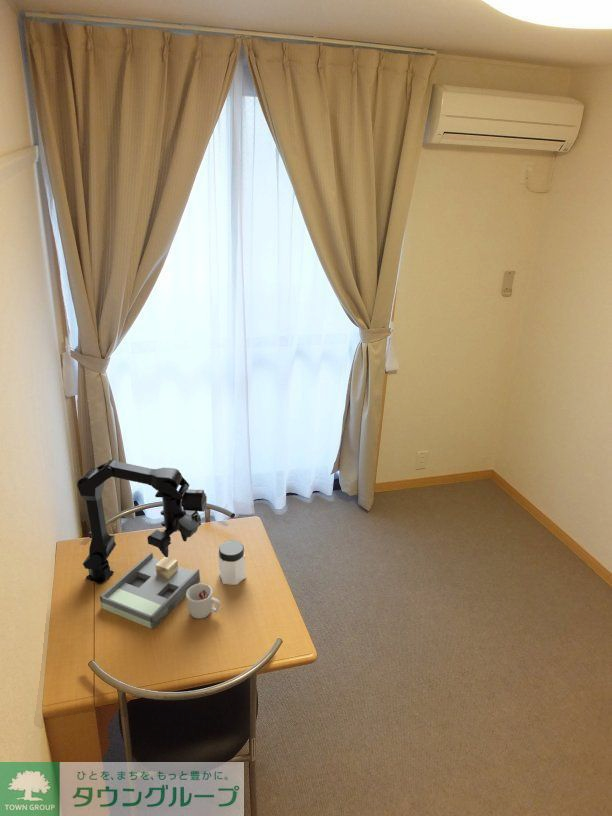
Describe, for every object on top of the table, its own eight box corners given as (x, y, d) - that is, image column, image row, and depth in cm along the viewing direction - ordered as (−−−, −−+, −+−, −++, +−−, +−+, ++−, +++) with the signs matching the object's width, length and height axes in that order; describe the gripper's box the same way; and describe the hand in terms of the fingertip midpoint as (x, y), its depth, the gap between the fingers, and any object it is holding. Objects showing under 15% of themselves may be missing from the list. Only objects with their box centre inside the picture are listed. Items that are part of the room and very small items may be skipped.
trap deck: (101, 608, 169) (99, 596, 167) (151, 562, 189) (150, 552, 188) (153, 629, 162) (151, 617, 160) (199, 579, 182) (199, 569, 180)
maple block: (156, 574, 180) (155, 564, 179) (166, 565, 184) (165, 556, 183) (168, 579, 178) (167, 569, 177) (178, 569, 183) (177, 560, 181)
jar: (217, 571, 186) (215, 542, 181) (240, 565, 189) (239, 537, 184) (224, 588, 179) (222, 558, 174) (247, 582, 181) (247, 552, 177)
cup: (226, 609, 170) (225, 589, 167) (214, 627, 163) (212, 606, 160) (195, 600, 173) (194, 580, 170) (182, 617, 166) (180, 597, 163)
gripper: (173, 531, 159) (177, 574, 165) (211, 500, 174) (213, 540, 180) (144, 520, 163) (148, 562, 169) (183, 491, 178) (186, 530, 185)
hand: (175, 548), depth 176 cm, fingers open, 9 cm apart
